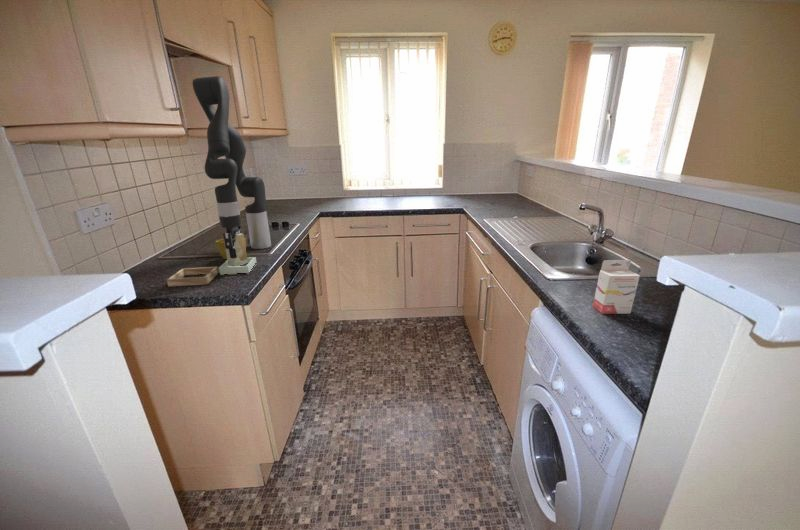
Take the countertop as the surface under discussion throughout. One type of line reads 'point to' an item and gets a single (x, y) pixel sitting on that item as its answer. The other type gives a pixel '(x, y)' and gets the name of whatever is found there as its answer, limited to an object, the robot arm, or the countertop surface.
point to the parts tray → (237, 267)
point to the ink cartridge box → (615, 288)
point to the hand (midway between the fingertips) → (236, 254)
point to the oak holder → (180, 281)
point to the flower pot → (223, 247)
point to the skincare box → (238, 252)
